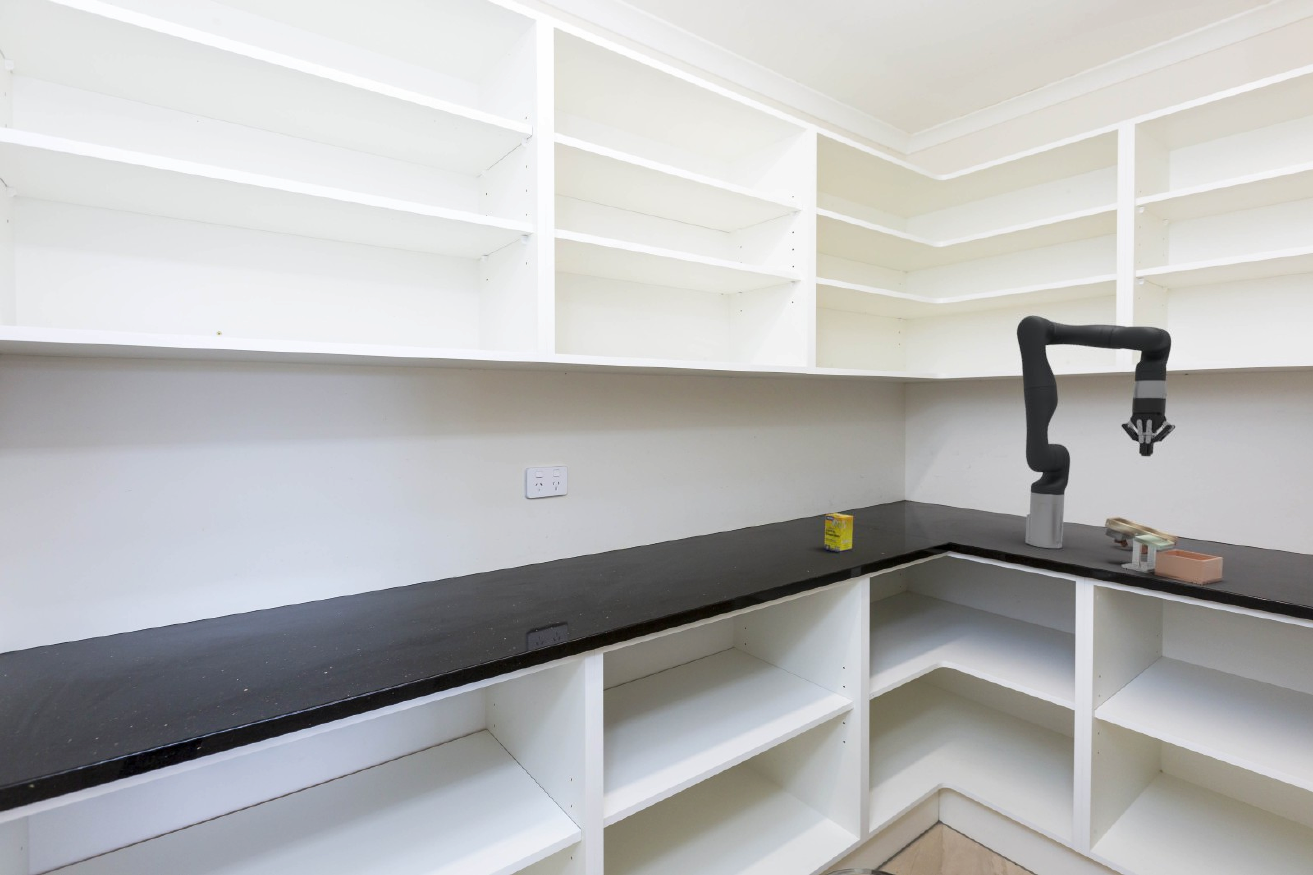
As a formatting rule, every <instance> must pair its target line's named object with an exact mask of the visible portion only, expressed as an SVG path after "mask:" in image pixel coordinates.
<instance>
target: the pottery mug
mask: <svg viewBox="0 0 1313 875" xmlns="http://www.w3.org/2000/svg"><path fill="white" fill-rule="evenodd" d="M1113 539H1114V540H1113V542H1114V543H1117V544H1120V545H1121V546H1122V547H1125V548H1126V547H1128V545H1129V543H1128V542H1127V540H1121V541H1120V540H1118V539H1115V538H1113ZM1146 553H1147V554H1148V546H1147V545H1144V544H1142V551H1141V554H1146Z"/></svg>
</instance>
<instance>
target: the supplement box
mask: <svg viewBox="0 0 1313 875" xmlns="http://www.w3.org/2000/svg"><path fill="white" fill-rule="evenodd" d="M824 525H825V526H824V527H825V528H824V550H826V551H830V552H833V553H834V552H835V553H837V554H842V553H843V554H844V553H849V552H852V549H853V529H854V528H853V527H854V526H853V525H854V515H849V514H848V515H847V514H843V513H839V512H836V513H830V514H825V524H824Z"/></svg>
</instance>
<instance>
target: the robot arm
mask: <svg viewBox="0 0 1313 875" xmlns="http://www.w3.org/2000/svg"><path fill="white" fill-rule="evenodd" d="M1016 338H1017V343H1018V346H1019V352H1020V356H1021V357H1020V358H1021V370H1022V381H1023V382H1022V383H1023V400H1024V406H1025V421H1026V422H1025V423H1026V439H1025V442H1026V444H1025V459H1026V464H1027V466H1028V468H1030V470H1031V471H1033V472H1034V473H1035V472H1036V473H1042V475H1041V477H1040V478H1039V479H1037V480H1035V481H1034V482H1032V483H1031V485H1030V501H1029V514H1026V518H1025V519H1026V520H1025V521H1026V522H1025V526H1026V527H1025V544H1029V546H1030V545H1031V546H1032V547H1033V546H1034V547H1038V548H1044V549H1045V548H1046V549H1061V548H1063V532H1064V515H1065V514H1064V512H1065V511H1064V510H1065V491H1066V488H1067V486H1068V484H1069V475H1070V468H1071V457H1070V456H1071V455H1070V452H1069V450H1068V449H1067V447H1066V446H1065V445H1063V444H1060V443H1049V433H1048V431H1049V426H1050V422H1051V420H1052V419H1053V416H1054V413H1055V412H1056V410H1057V407H1058V402H1059V396H1058V394H1059V393H1058V386H1057V381H1056V377H1055V374H1054V371H1053V370H1052V367H1051V365H1050V363H1049V360H1048V356H1047V350H1046V348H1047V347H1046V346H1056V345H1060V346H1061V345H1069V346H1083V347H1089V348H1099V349H1109V350H1110V349H1112V350H1121V349H1122V350H1123V349H1124V350H1130V351H1137V352H1138V351H1140V352H1141V353H1140V360H1139V362H1137V363H1136V366H1135V369H1134V383H1133V384H1134V385H1133V389H1132V403H1131V404H1132V405H1131V406H1132V407H1131V416H1130V419H1129V421H1127V422H1125V423H1121V428H1122V429H1123V430H1124V431H1125V433H1126V434H1127V435H1128V436H1129V438H1130V439H1131V440H1132V441H1135V442H1137V443H1139V449H1138V452H1139V454H1140V456H1141V457H1151V455H1153V454H1154V444H1155V443H1158V442H1162V441H1163V440H1164V439H1166V438H1167V436H1169V435H1170V434H1171V433H1172V432H1173V430H1174V429H1176V426H1175V425H1174V424H1171V423H1170V422H1168V420H1167V416H1166V406H1167V404H1166V403H1167V396H1168V393H1167V365H1168V361H1169V356H1170V353H1171V347H1172V337H1171V335H1170V333H1169V332H1168V331H1167V330H1166V329H1163V328H1158V327H1154V326H1125V325H1115V324H1114V325H1113V324H1083V325H1077V324H1075V325H1074V324H1064V323H1060V322H1055V321H1052V320H1049V319H1047V318H1045V317H1042V316H1038V315H1027V316H1026V317H1023V319H1021V320H1020V322H1019V323H1018V325H1017V329H1016ZM1134 428H1135V429H1136V430H1137V431H1136V430H1135V429H1134ZM1160 429H1162V430H1160ZM1159 430H1160V431H1159ZM1158 431H1159V432H1158Z"/></svg>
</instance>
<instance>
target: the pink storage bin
mask: <svg viewBox="0 0 1313 875" xmlns="http://www.w3.org/2000/svg"><path fill="white" fill-rule="evenodd" d="M1223 562H1224V557H1221V556H1215V555H1209V554H1206V553H1205V554H1204V553H1198V552H1192V551H1187V550H1181V549H1176V548H1175V549H1170V550H1163V551H1158V552H1157V551H1156V561H1155V571H1154V575H1155V576H1159V577H1164V578H1168V579H1174V580H1177V581H1182V582H1187V583H1191V582H1193V583H1192V584H1196V583H1197V584H1196V585H1200V584H1201V586H1202V585H1203V584H1204V585H1208V584H1211V582H1213V583H1216V582H1221V581H1222V578H1223ZM1207 583H1208V584H1207Z"/></svg>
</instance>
